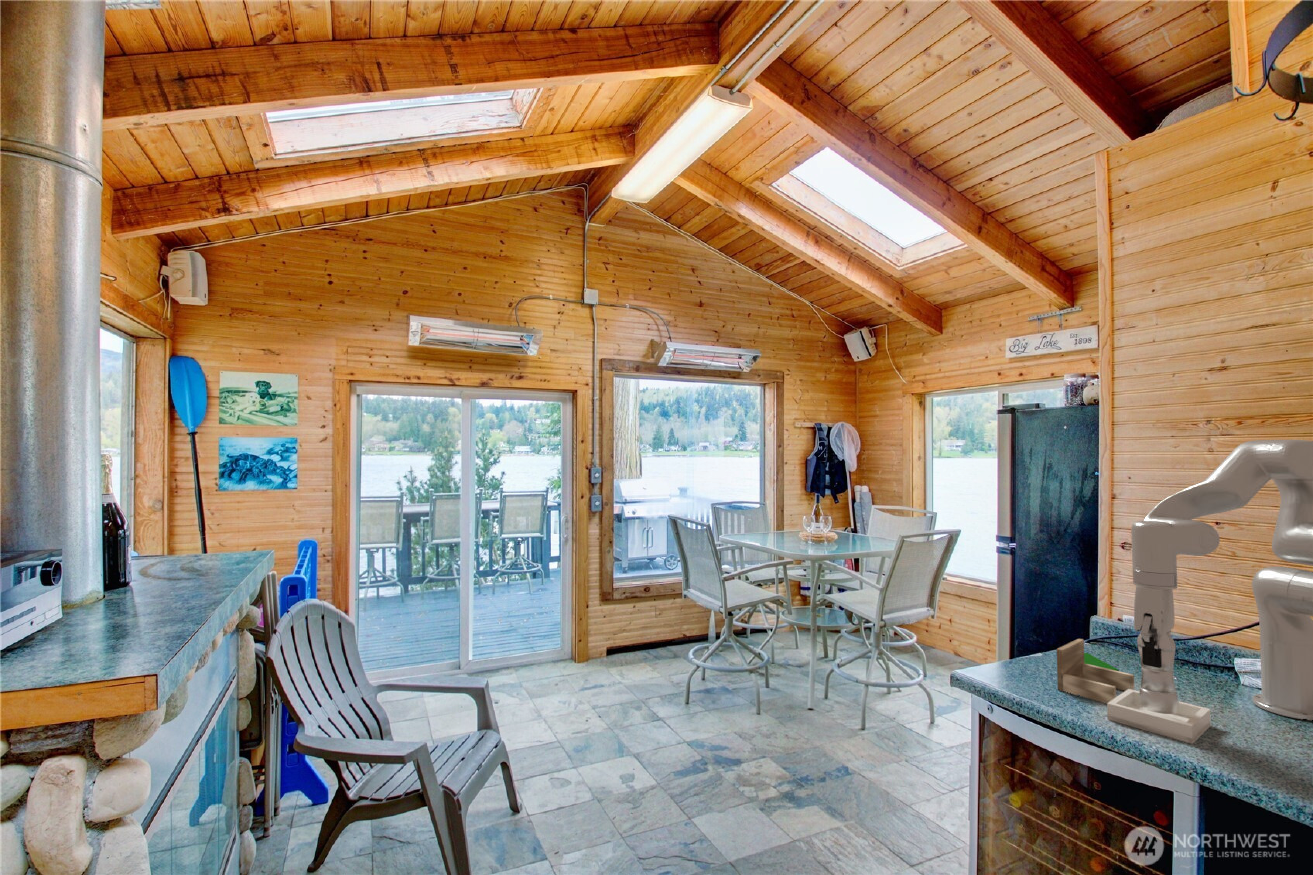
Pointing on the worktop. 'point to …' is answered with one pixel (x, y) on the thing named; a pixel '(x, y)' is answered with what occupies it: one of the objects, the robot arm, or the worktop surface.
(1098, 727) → the worktop surface
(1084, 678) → the bay
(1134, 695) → the tray
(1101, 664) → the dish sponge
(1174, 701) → the plastic bottle
